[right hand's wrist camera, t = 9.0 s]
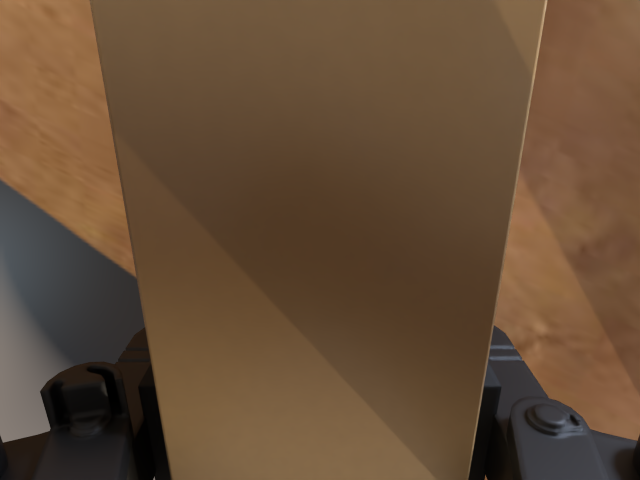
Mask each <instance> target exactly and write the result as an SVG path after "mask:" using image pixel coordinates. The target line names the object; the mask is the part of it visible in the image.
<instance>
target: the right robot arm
mask: <svg viewBox="0 0 640 480" xmlns="http://www.w3.org/2000/svg"><path fill="white" fill-rule="evenodd" d="M40 393H41V396H42V400H43V403H44V407H45V410H46V414H47V417H48V421H49V424H50V428H51V429H50V431H48V432H45V433H42V434H38V435H35V436H30V437H26V438H22V439H18V440H13V441H9V442H4V443H3V442H2V439H1V437H0V480H153V478H154V476H155V480H171V476H170V470H169V465H168V459H167V453H166V447H165V441H164V435H163V429H162V423H161V417H160V411H159V406H158V400H157V394H156V388H155V382H154V376H153V370H152V364H151V358H150V352H149V347H148V341H147V335H146V329H145V328H143V329H142V330H141V331H139V332H138V333H137V334H135V335H134V337H133V338H132V340H131V341H130V343H129V344H128V346H127V347H126V351H124V352H123V353H122V355H121V356H120V358H119V359H118V362H116V364H111V363H107V362H89V363H85V364H80V365H76V366H73V367H71V368H69V369H67V370H64V371H62V372H60V373H59V374H57V375H56V376H55V377H53V378H52V379H50V380H49V381H48V382H47V383H46V384H45V386H44V387H43V388H42V390H41V391H40ZM485 474H486V477H487V479H488V480H640V435H639V438H638V441H635V440H631V439H627V438H622V437H618V436H614V435H609V434H605V433H601V432H598V431H594V430H591V429H590V428H589V427H588V425H587V424H586V422H585V420H584V419H583V417H581V416H580V415H579V414H578V413H577V412H575V411H574V410H573V409H572V408H570V407H568V406H566V405H564V404H562V403H561V402H559V401H556V400H553V399H549V398H548V396H547V395H546V393H545V392H544V390H543V389H542V387H541V386H540V384H539V383H538V381H537V380H536V378H535V377H534V375H533V374H532V372H531V371H530V369H529V368H528V366H527V365H526V363H525V362H524V361H522V357H521V356H520V354H519V353H518V352H517V350H516V349H514V346H513V344H512V343H511V341H510V340H509V338H508V337H507V335H506V334H505V333H504V332H503V331H501V330H500V329H499V328H497V327H496V326H494V327H493V333H492V339H491V345H490V351H489V357H488V363H487V369H486V375H485V381H484V387H483V393H482V400H481V406H480V412H479V418H478V424H477V430H476V436H475V442H474V448H473V454H472V460H471V466H470V472H469V478H468V480H484V479H485Z"/></svg>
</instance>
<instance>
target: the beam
mask: <svg viewBox="0 0 640 480" xmlns="http://www.w3.org/2000/svg"><path fill="white" fill-rule="evenodd" d="M90 5H91V11H92V16H93V22H94V28H95V34H96V40H97V46H98V52H99V58H100V64H101V70H102V75H103V81H104V87H105V93H106V99H107V105H108V111H109V117H110V123H111V128H112V134H113V140H114V146H115V152H116V158H117V164H118V170H119V176H120V182H121V187H122V193H123V199H124V205H125V211H126V217H127V223H128V229H129V235H130V240H131V246H132V252H133V258H134V264H135V270H136V276H137V282H138V288H139V294H140V299H141V305H142V311H143V317H144V323H145V329H146V335H147V341H148V347H149V352H150V358H151V364H152V370H153V376H154V382H155V388H156V394H157V400H158V406H159V411H160V417H161V423H162V429H163V435H164V441H165V447H166V453H167V459H168V465H169V470H170V476H171V480H468V478H469V472H470V466H471V460H472V454H473V448H474V442H475V436H476V430H477V424H478V418H479V412H480V406H481V400H482V393H483V387H484V381H485V375H486V369H487V363H488V357H489V351H490V345H491V339H492V333H493V327H494V321H495V315H496V309H497V303H498V296H499V290H500V284H501V278H502V272H503V266H504V260H505V254H506V248H507V242H508V236H509V230H510V224H511V218H512V212H513V206H514V199H515V193H516V187H517V181H518V175H519V169H520V163H521V157H522V151H523V145H524V139H525V133H526V127H527V121H528V115H529V109H530V102H531V96H532V90H533V84H534V78H535V72H536V66H537V60H538V54H539V48H540V42H541V36H542V30H543V24H544V18H545V12H546V6H547V0H90Z"/></svg>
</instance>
